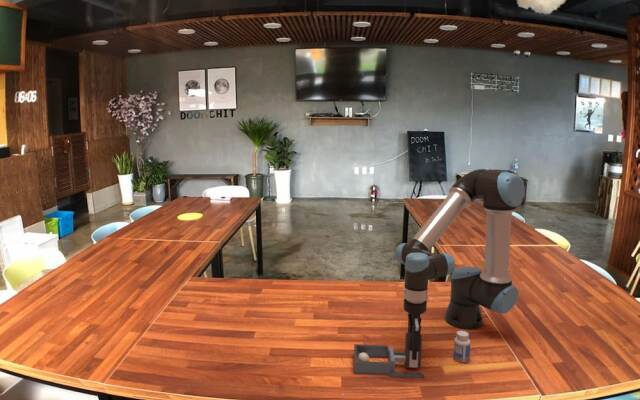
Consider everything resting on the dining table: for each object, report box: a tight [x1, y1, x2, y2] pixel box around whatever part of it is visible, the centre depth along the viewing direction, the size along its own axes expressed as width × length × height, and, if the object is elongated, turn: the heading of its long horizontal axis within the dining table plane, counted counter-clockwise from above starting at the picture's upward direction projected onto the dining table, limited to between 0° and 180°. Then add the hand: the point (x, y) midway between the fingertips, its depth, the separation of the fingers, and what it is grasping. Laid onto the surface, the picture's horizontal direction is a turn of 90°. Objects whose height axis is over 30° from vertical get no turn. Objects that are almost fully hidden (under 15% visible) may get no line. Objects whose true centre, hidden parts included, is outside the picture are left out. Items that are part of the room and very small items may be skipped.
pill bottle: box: [453, 330, 471, 363], centre depth 156 cm, size 6×5×10 cm
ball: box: [357, 353, 370, 361], centre depth 153 cm, size 4×4×4 cm
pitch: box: [353, 343, 425, 379], centre depth 153 cm, size 23×14×4 cm, turn 86°
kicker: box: [388, 332, 423, 372], centre depth 152 cm, size 10×9×11 cm
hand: (412, 362), depth 152 cm, fingers closed on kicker, 4 cm apart
